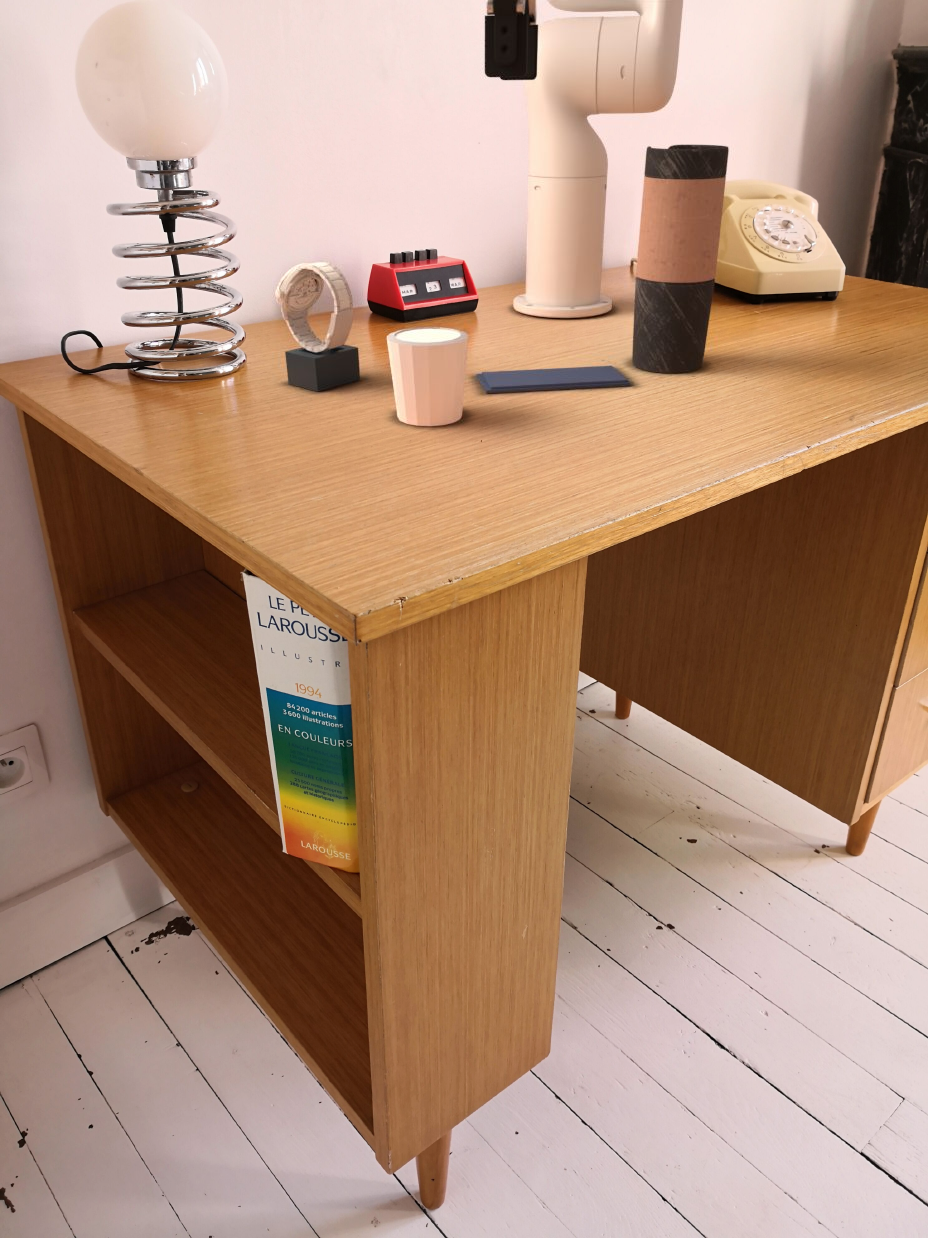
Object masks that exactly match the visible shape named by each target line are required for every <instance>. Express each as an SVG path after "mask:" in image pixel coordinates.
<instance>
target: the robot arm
mask: <svg viewBox="0 0 928 1238" xmlns="http://www.w3.org/2000/svg"><path fill="white" fill-rule="evenodd" d="M547 1H548V4H550V6H552V7H554V8H555V9H557V10H560V11H564V12H571V13H604V12H605V13H606V12H609V13H610V12H636V13H637V14H638V15H631V16H630V15H629V16H628V15H627V16H573V17H572V16H571V17H560V18H554V19H551V20H550V19H549V20H547V21H544V22H542V23H540V24H537V0H486V7H485V8H486V15H484V74H485V77H488V78H499V79H500V80H501V81H523V88H524V96H525V97H524V98H525V106H526V118H527V137H528V139H527V140H528V142H527V144H528V145H527V146H528V147H527V148H528V150H527V152H528V153H527V155H528V157H527V158H528V160H527V163H528V164H527V201H526V202H527V205H526V206H527V208H526V210H527V211H526V249H525V250H526V255H525V256H526V259H525V261H526V262H525V264H526V265H525V293H523V294H520V295H517V296H515V297H514V298H513V302H512V303H513V304H512V305H513V309H514V311H516V312H518V313H521V314H523V315H528V316H534V317H540V318H556V319H558V318H559V319H572V318H587V317H595V316H599V315H603V314H607V313H609V312H610V311H611V310H612V308H613V299H612V297H610V296H607V295H605V294H602V291H601V290H602V275H603V258H604V257H603V255H604V238H605V222H606V203H607V187H608V186H607V185H608V171H609V170H608V169H609V158H608V153H607V149H606V146H605V144H604V143H603V141H602V139H601V137H600V136H599V135H598V133H597V132H596V130H595V129H594V128H593V126H592V124H591V123H590V122H589V120H588V117H589V116H595V115H600V114H601V115H602V114H603V115H604V114H609V115H610V114H611V115H613V114H615V115H616V114H619V115H620V114H624V115H625V114H649V113H655V112H658V111H661V110H662V109H663V108H665V107H667V105H668V104H669V102H670V101H671V98H672V97H673V93H674V90H675V85H676V80H677V75H678V74H677V72H678V66H679V65H678V64H679V56H680V55H679V54H680V43H681V41H680V40H681V32H682V31H681V30H682V20H683V19H682V18H683V8H684V0H547Z"/></svg>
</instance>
